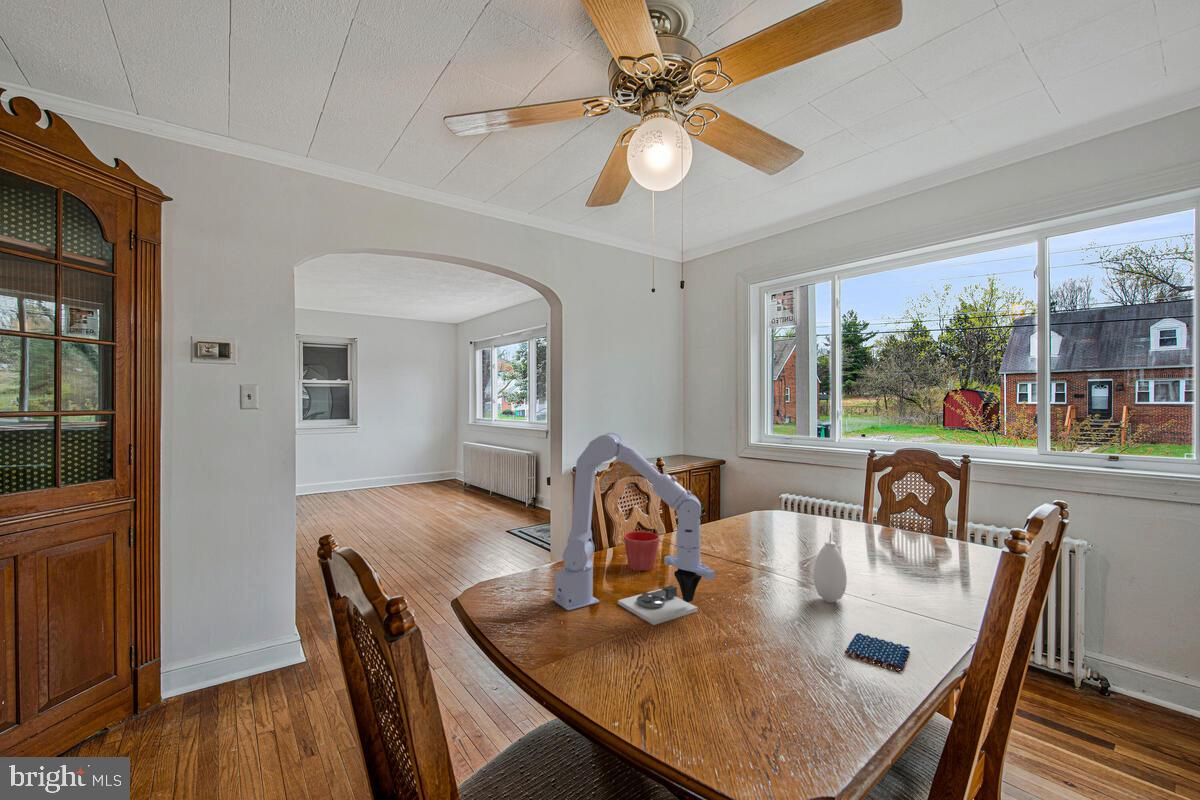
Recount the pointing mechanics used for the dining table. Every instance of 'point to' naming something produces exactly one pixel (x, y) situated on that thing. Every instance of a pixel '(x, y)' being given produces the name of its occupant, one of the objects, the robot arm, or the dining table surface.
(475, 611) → the dining table surface
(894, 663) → the woven mat
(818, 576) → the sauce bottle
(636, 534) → the flower pot
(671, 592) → the crank handle
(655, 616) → the stand plate
